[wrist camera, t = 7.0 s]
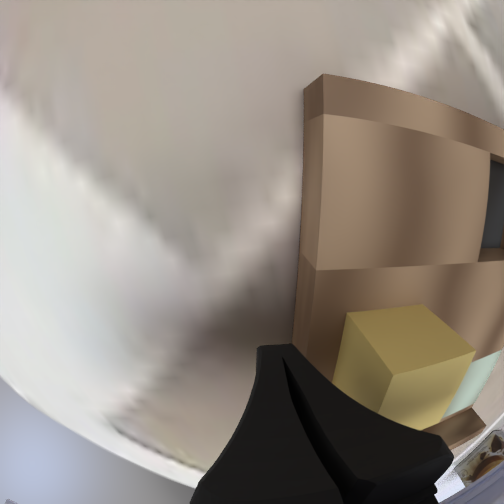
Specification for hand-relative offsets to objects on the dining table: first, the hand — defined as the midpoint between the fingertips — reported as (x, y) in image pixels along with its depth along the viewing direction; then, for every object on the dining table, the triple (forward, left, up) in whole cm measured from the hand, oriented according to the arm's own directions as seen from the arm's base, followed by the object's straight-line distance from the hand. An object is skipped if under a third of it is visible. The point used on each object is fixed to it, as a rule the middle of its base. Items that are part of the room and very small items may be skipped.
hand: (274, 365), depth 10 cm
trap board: (-9, 0, -3) cm, 10 cm away
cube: (-5, 0, -1) cm, 5 cm away
